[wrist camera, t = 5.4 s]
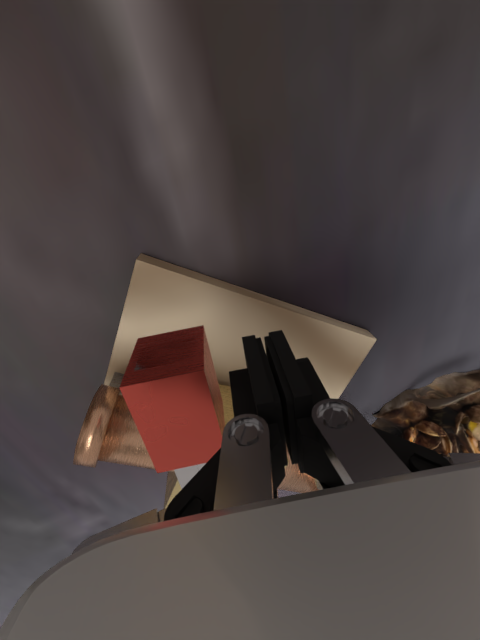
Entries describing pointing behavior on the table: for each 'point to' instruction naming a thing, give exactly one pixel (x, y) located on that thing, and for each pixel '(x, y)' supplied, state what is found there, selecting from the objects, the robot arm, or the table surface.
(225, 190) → the table surface
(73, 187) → the table surface
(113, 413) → the valve pipe
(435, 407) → the food dish
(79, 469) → the table surface
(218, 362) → the beige board
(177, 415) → the valve lever
